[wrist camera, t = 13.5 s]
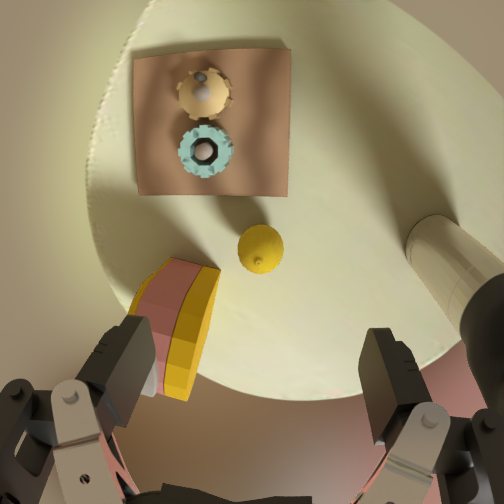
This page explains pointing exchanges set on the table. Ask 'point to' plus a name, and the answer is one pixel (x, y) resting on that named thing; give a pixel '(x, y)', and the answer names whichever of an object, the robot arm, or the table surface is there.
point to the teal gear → (189, 146)
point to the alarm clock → (176, 323)
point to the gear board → (213, 120)
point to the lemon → (260, 249)
